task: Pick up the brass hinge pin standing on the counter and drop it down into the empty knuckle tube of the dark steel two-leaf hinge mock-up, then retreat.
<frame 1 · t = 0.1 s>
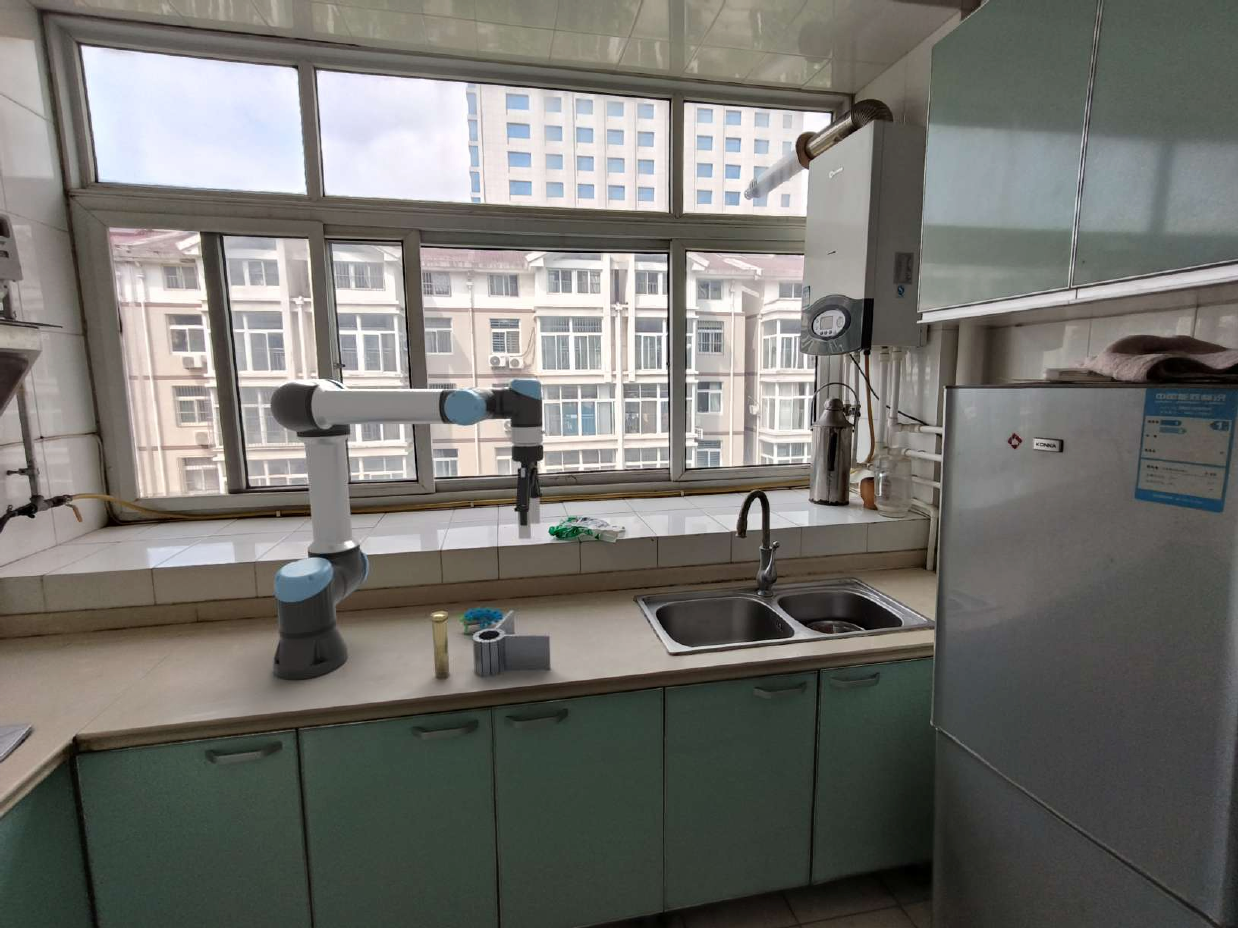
hand: (530, 530, 140), 28 cm above the countertop, fingers open, 13 cm apart
hinge leaf swing: (505, 634, 138), point 4 cm above the countertop, hinge at 80.0°
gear: (482, 630, 150), on the countertop
hinge leaf fixed: (490, 668, 130), on the countertop
pin: (442, 675, 127), on the countertop
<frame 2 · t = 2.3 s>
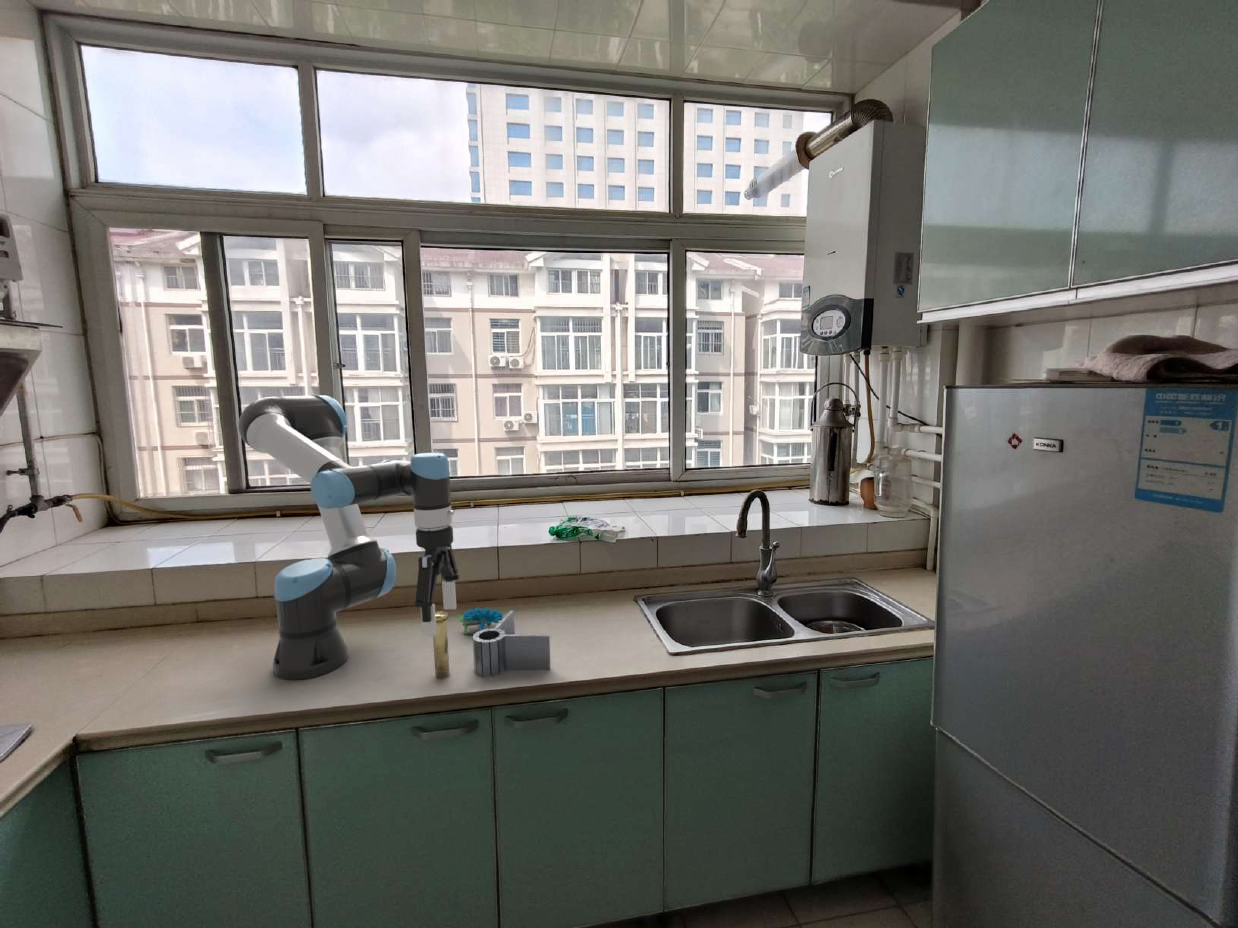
hand: (440, 621, 125), 13 cm above the countertop, fingers open, 13 cm apart
nothing on the countertop moved.
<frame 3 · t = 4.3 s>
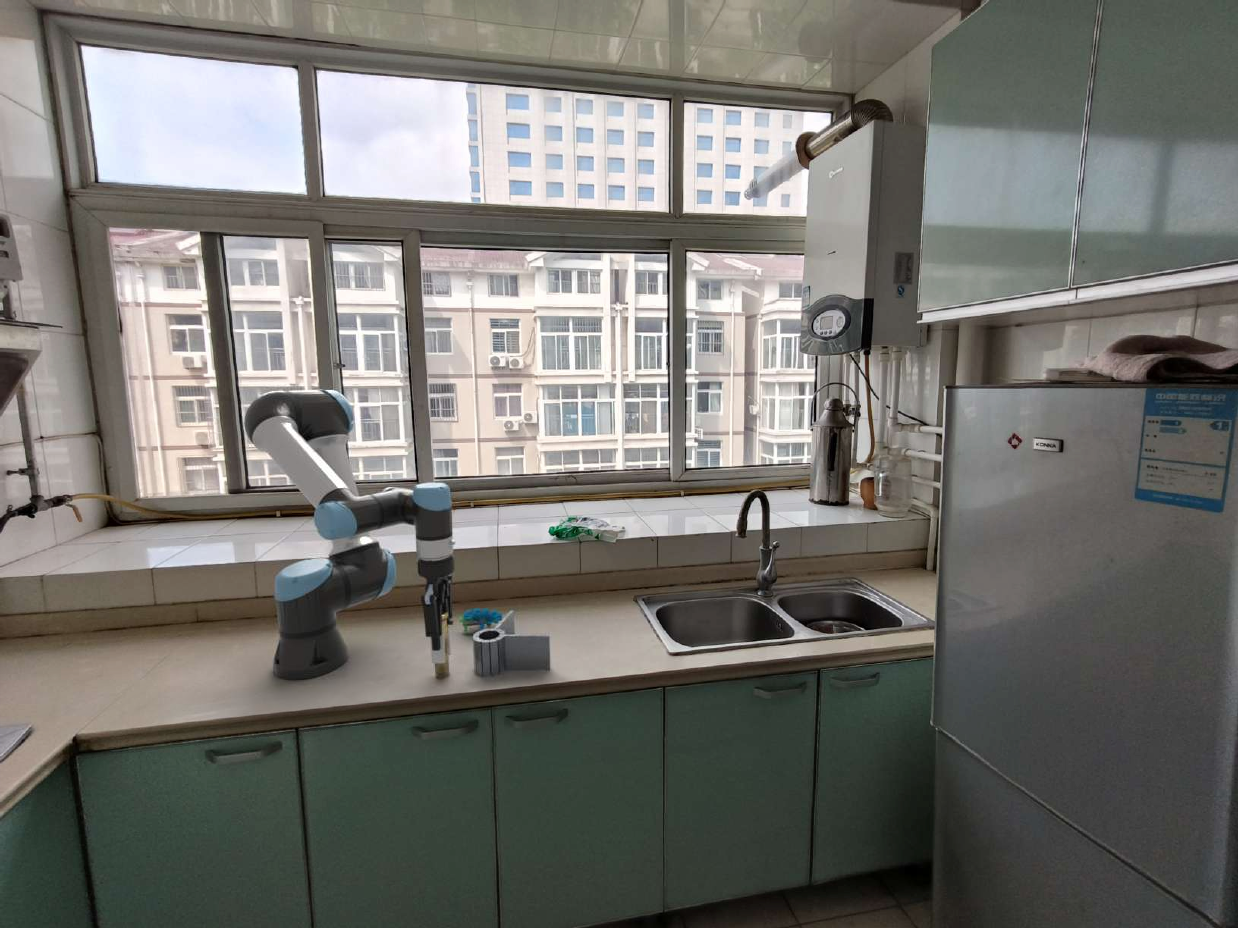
hand: (441, 657, 127), 4 cm above the countertop, fingers closed on pin, 3 cm apart
pin: (442, 675, 127), on the countertop, touching gripper
everything else where it was.
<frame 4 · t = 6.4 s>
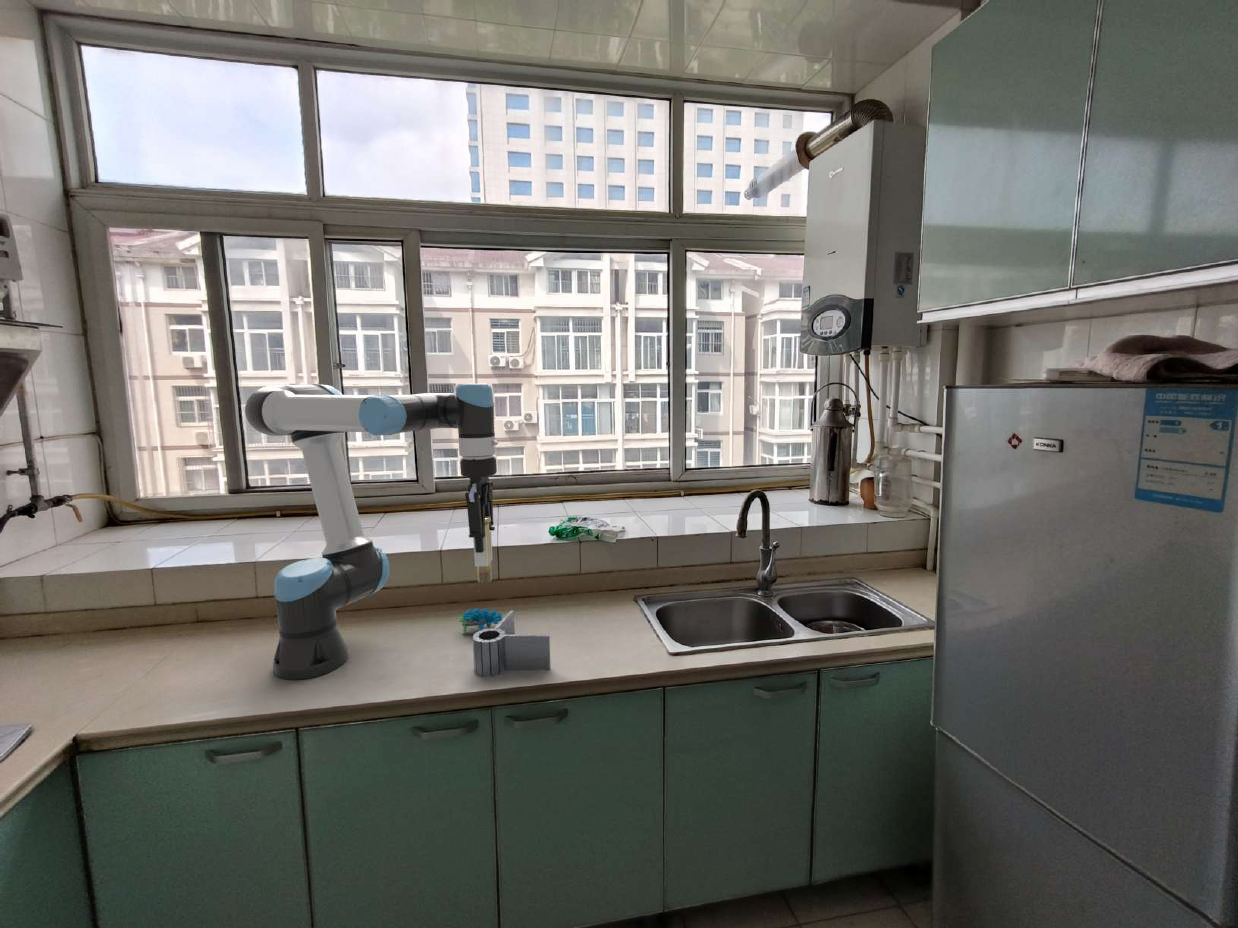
hand: (483, 562, 126), 25 cm above the countertop, fingers closed on pin, 3 cm apart
pin: (484, 580, 126), point 21 cm above the countertop, touching gripper
everything else where it was.
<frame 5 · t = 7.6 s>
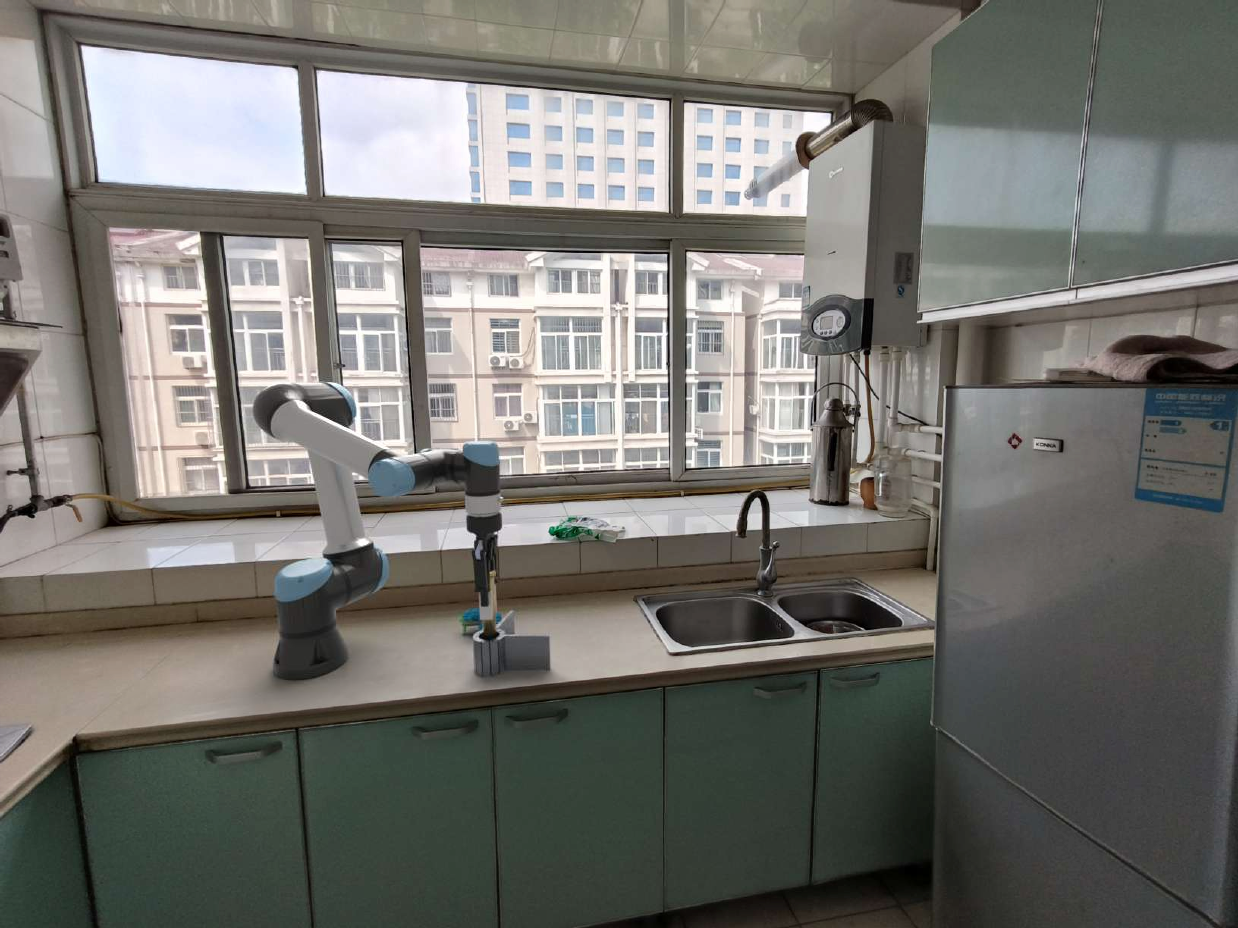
hand: (488, 615, 128), 13 cm above the countertop, fingers closed on pin, 3 cm apart
pin: (489, 632, 129), point 9 cm above the countertop, touching gripper
everything else where it was.
when the fingers open (10 cm above the countertop, at t = 8.4 s): pin drops 6 cm, resting in hinge leaf fixed.
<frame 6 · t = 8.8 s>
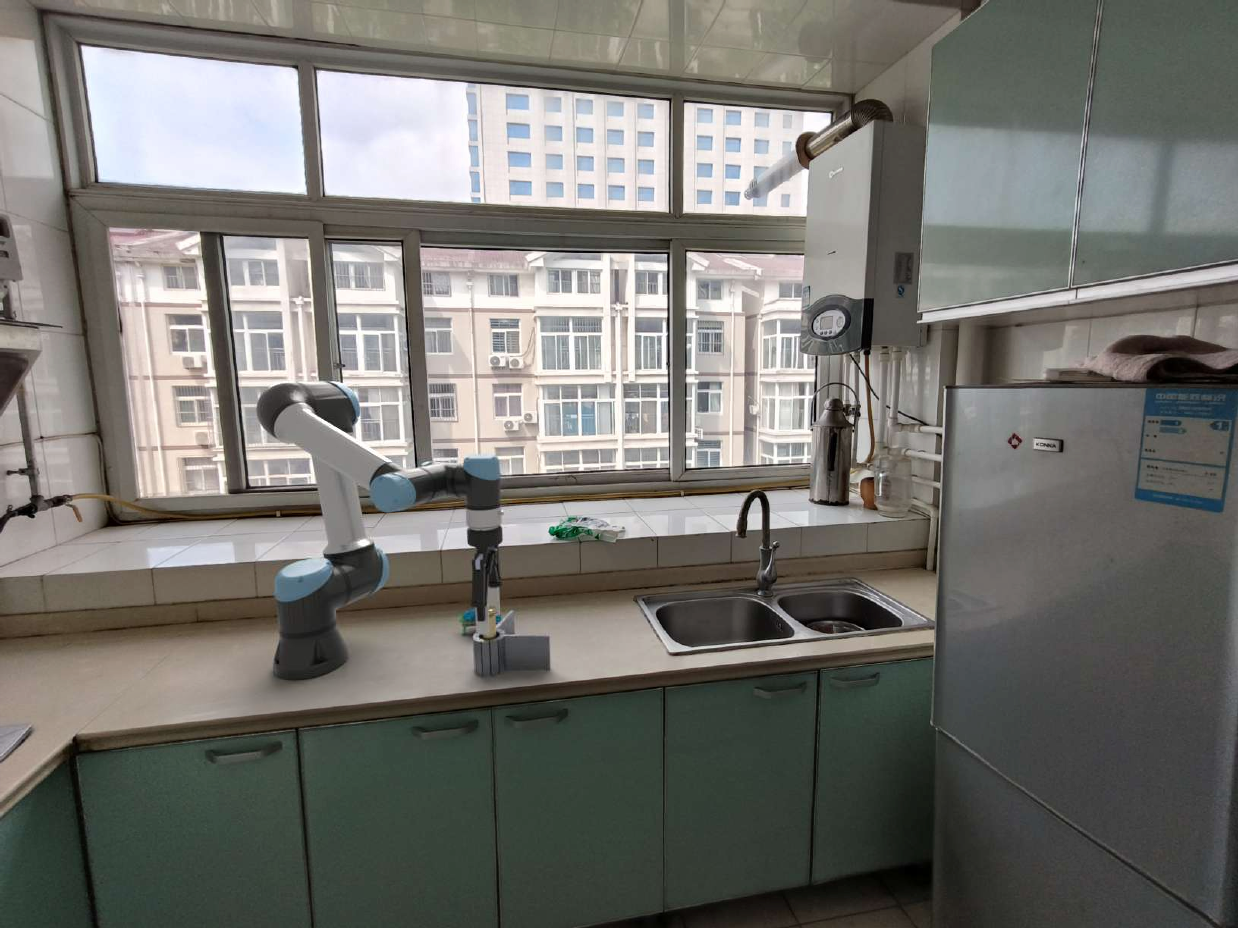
hand: (488, 623, 128), 11 cm above the countertop, fingers open, 9 cm apart
pin: (490, 668, 130), resting in hinge leaf fixed
everything else where it was.
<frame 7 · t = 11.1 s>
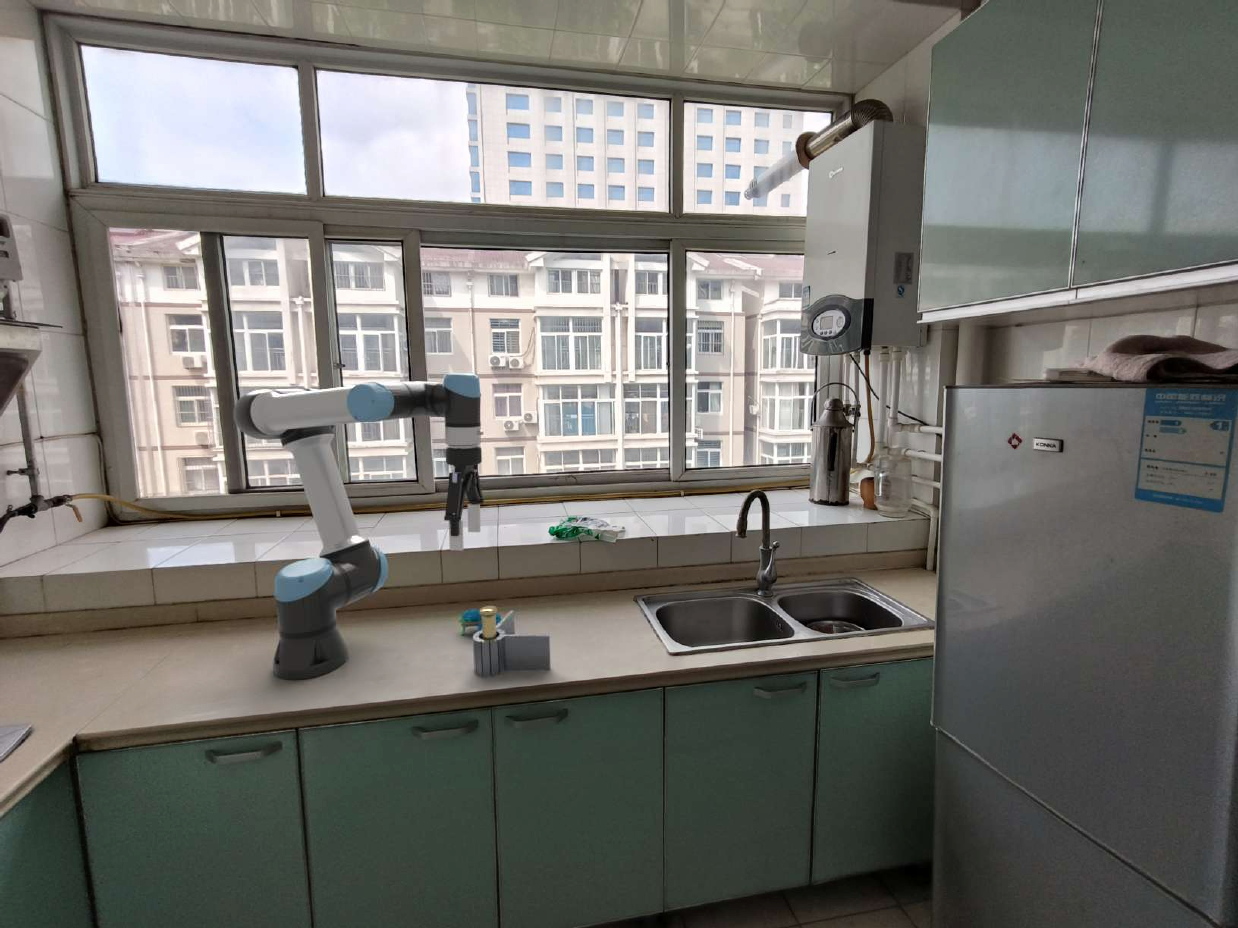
hand: (465, 540, 128), 29 cm above the countertop, fingers open, 13 cm apart
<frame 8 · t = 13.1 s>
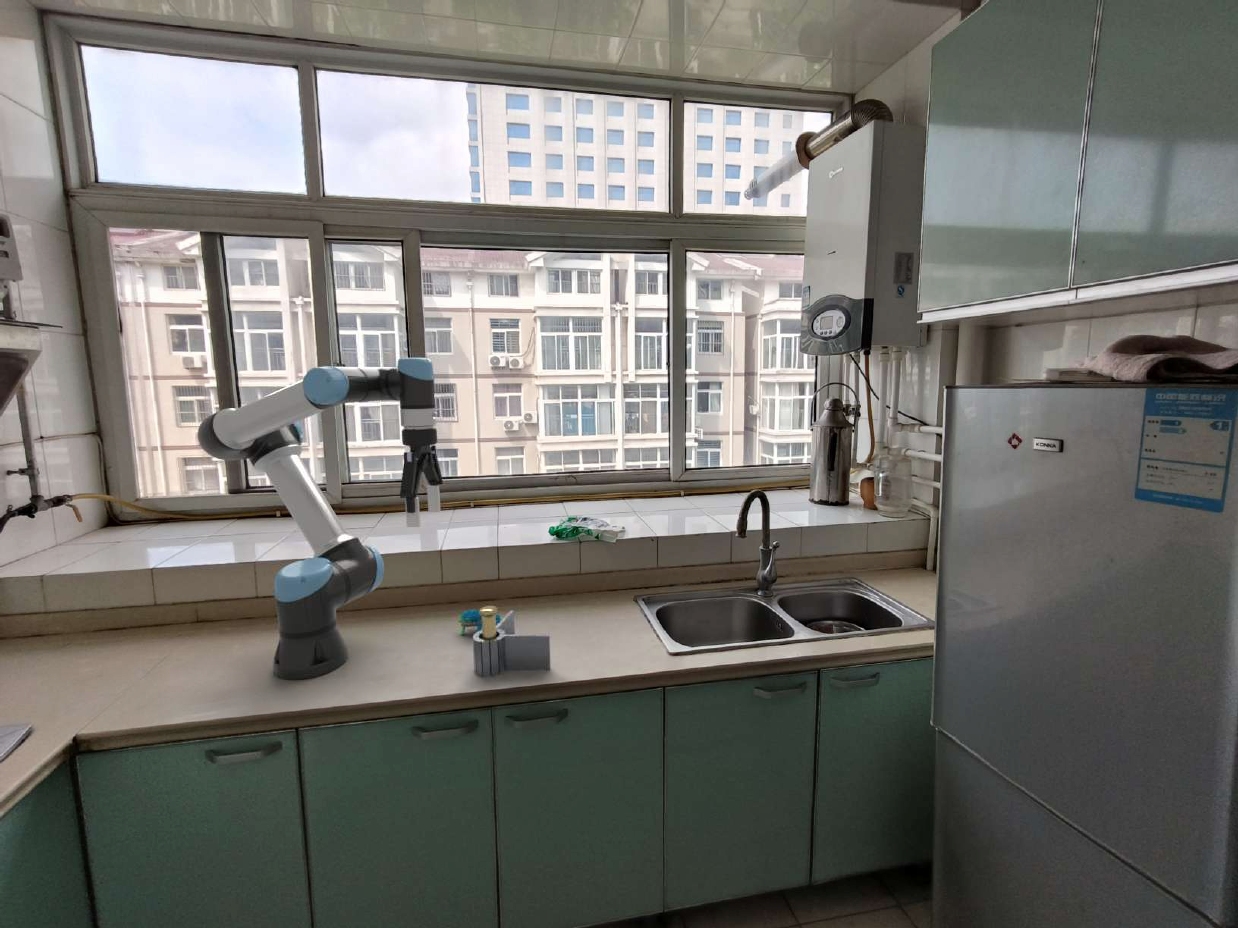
hand: (424, 518, 133), 33 cm above the countertop, fingers open, 13 cm apart
at the end: pin 0.0 cm off-centre on the hinge leaf fixed, point 0.0 cm above the hinge leaf fixed's base; pin tilted 0°; the gripper is holding nothing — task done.
